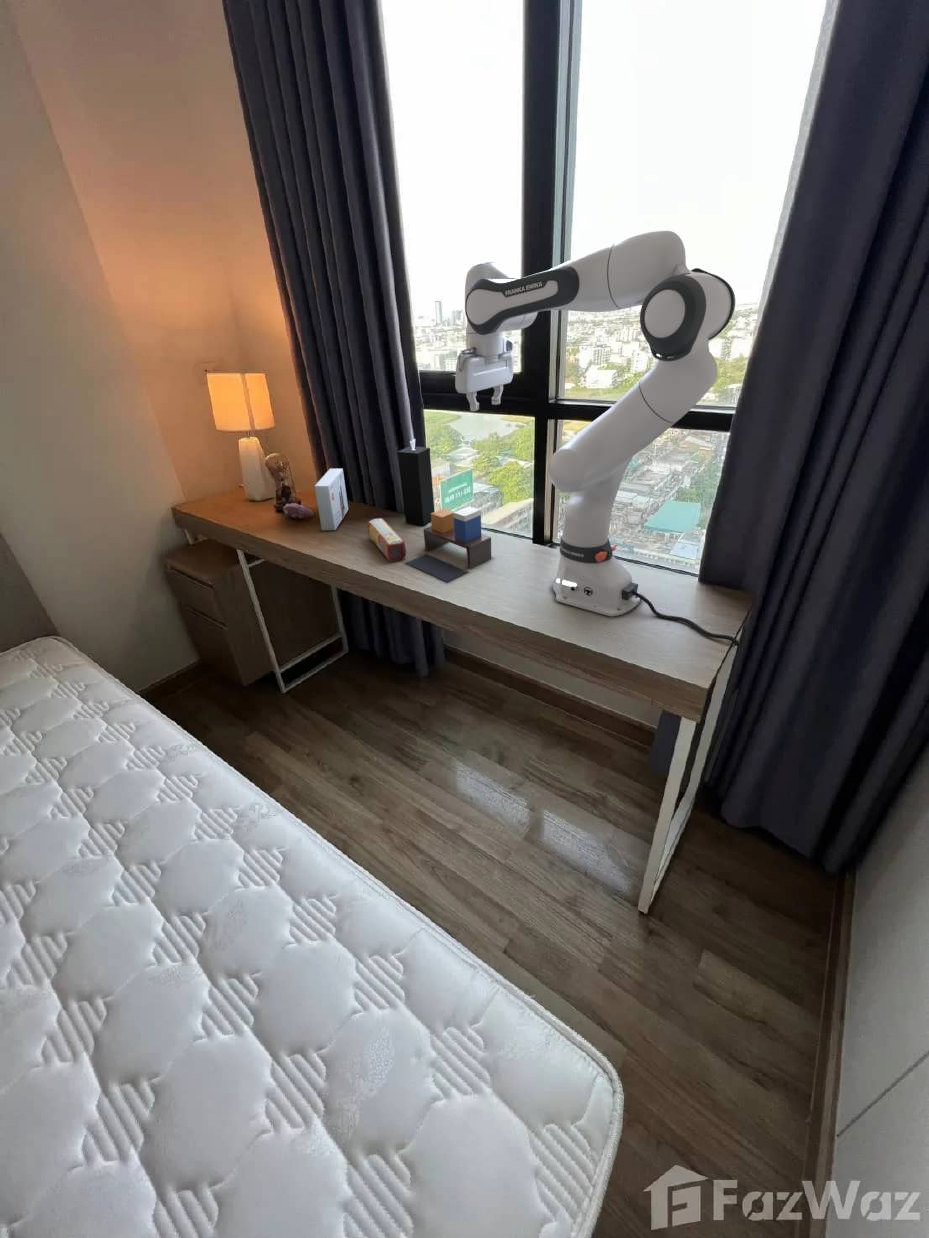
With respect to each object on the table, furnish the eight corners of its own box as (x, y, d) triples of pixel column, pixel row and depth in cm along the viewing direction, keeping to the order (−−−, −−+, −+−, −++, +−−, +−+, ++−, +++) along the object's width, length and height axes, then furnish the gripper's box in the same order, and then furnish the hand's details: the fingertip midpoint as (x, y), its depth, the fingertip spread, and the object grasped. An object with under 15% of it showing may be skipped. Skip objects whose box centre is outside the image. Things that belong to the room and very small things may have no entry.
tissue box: (405, 523, 175) (395, 441, 160) (417, 515, 181) (409, 435, 166) (424, 526, 172) (416, 443, 157) (435, 518, 178) (429, 437, 162)
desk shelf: (491, 558, 148) (491, 536, 144) (470, 569, 143) (469, 546, 139) (446, 541, 161) (444, 520, 157) (425, 550, 155) (423, 529, 152)
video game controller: (287, 521, 186) (278, 508, 180) (292, 512, 188) (283, 498, 182) (310, 523, 183) (302, 510, 177) (315, 513, 185) (307, 500, 179)
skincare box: (337, 530, 172) (328, 485, 163) (321, 531, 172) (312, 486, 164) (350, 509, 190) (342, 467, 181) (336, 509, 190) (328, 468, 181)
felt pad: (467, 572, 141) (467, 571, 141) (447, 582, 137) (447, 581, 137) (426, 554, 152) (426, 554, 152) (406, 563, 148) (406, 562, 148)
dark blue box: (481, 535, 145) (480, 509, 141) (465, 542, 142) (464, 516, 137) (470, 531, 148) (469, 506, 144) (454, 538, 145) (453, 512, 140)
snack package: (408, 559, 151) (406, 538, 147) (388, 564, 148) (385, 543, 145) (387, 535, 167) (384, 515, 163) (367, 539, 165) (364, 519, 161)
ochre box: (456, 527, 151) (455, 512, 149) (442, 533, 148) (441, 517, 146) (445, 523, 155) (444, 508, 152) (431, 529, 151) (430, 513, 149)
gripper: (469, 350, 111) (471, 415, 119) (518, 342, 124) (517, 401, 132) (447, 350, 114) (450, 413, 122) (497, 342, 128) (497, 400, 135)
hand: (485, 407), depth 127 cm, fingers open, 8 cm apart
